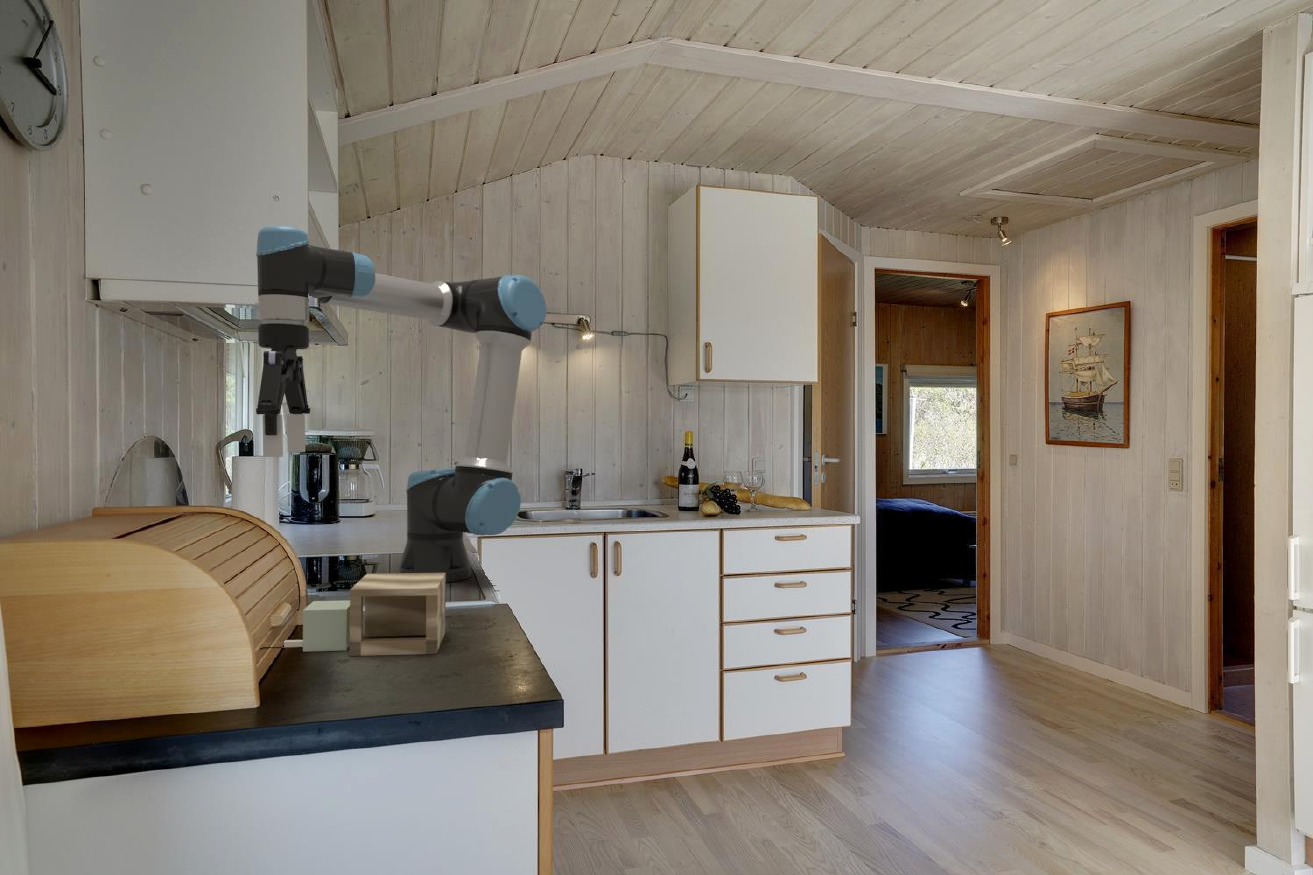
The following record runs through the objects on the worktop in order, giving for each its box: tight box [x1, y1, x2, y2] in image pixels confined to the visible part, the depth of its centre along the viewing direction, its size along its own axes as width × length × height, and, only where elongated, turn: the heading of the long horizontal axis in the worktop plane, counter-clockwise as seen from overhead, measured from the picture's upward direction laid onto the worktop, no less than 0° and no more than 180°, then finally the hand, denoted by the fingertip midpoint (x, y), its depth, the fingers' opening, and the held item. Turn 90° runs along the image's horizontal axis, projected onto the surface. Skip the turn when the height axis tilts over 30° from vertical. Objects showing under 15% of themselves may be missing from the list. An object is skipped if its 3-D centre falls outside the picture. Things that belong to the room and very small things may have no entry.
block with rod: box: [283, 599, 350, 652], centre depth 122 cm, size 6×15×11 cm, turn 99°
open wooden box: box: [349, 572, 447, 657], centre depth 124 cm, size 12×12×10 cm
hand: (285, 454), depth 135 cm, fingers open, 13 cm apart
